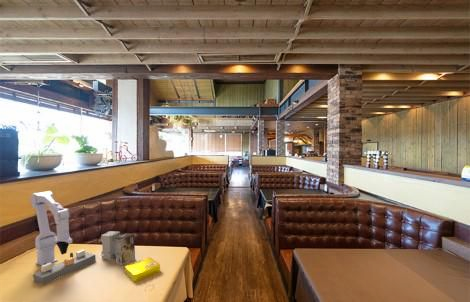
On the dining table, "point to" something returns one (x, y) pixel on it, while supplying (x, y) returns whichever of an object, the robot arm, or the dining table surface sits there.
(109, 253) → the circuit breaker
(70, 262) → the orange block
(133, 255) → the coffee box
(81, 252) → the paddle
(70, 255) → the cord posts
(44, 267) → the paddle
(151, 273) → the element tile
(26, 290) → the dining table surface
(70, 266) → the breaker panel
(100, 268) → the dining table surface
